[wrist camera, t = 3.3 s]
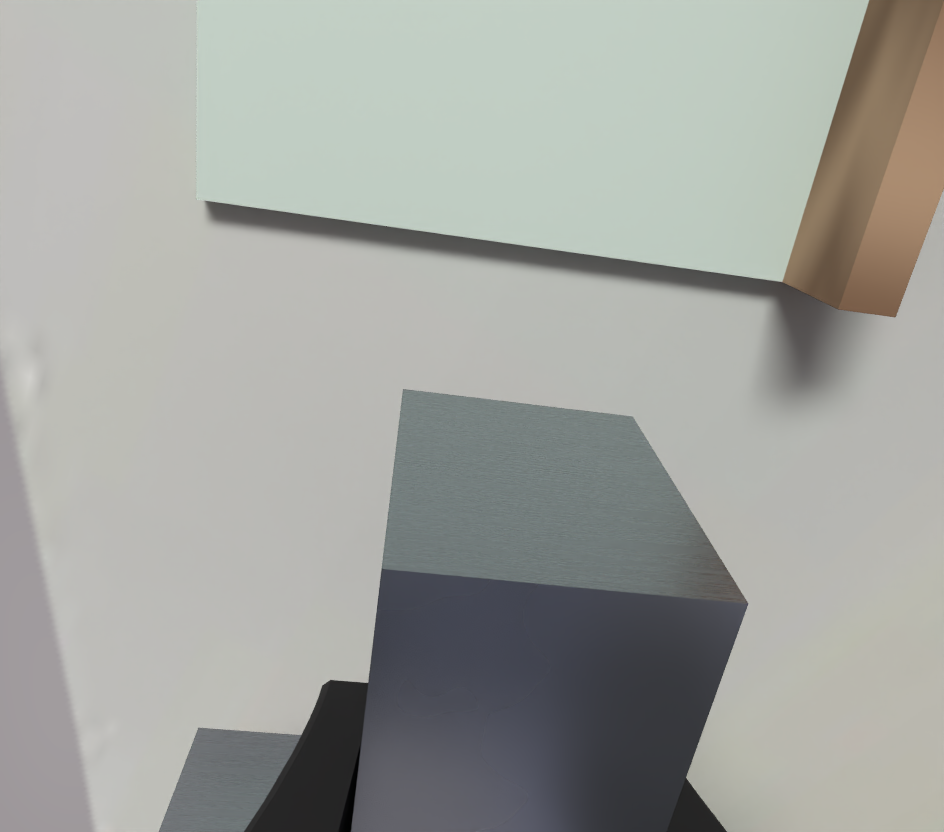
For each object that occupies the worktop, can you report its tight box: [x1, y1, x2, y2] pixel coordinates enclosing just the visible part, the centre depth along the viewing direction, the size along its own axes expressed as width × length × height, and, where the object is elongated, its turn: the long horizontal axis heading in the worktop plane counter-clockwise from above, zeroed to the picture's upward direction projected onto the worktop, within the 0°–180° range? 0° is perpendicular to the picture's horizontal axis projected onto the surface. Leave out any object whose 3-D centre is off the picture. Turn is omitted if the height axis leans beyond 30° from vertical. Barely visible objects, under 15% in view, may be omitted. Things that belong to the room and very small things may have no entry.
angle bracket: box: [159, 389, 748, 832], centre depth 11 cm, size 10×6×4 cm, turn 172°
